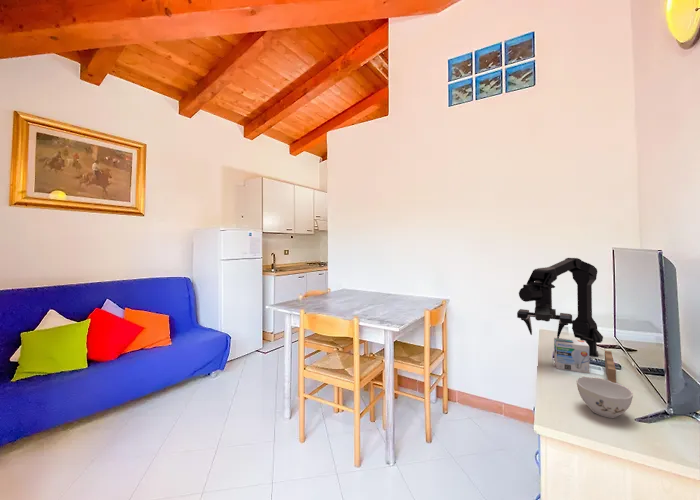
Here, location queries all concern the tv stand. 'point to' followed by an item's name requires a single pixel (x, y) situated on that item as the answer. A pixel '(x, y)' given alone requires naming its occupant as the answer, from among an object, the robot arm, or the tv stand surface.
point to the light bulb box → (571, 355)
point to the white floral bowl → (604, 396)
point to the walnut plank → (610, 367)
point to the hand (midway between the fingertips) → (544, 336)
